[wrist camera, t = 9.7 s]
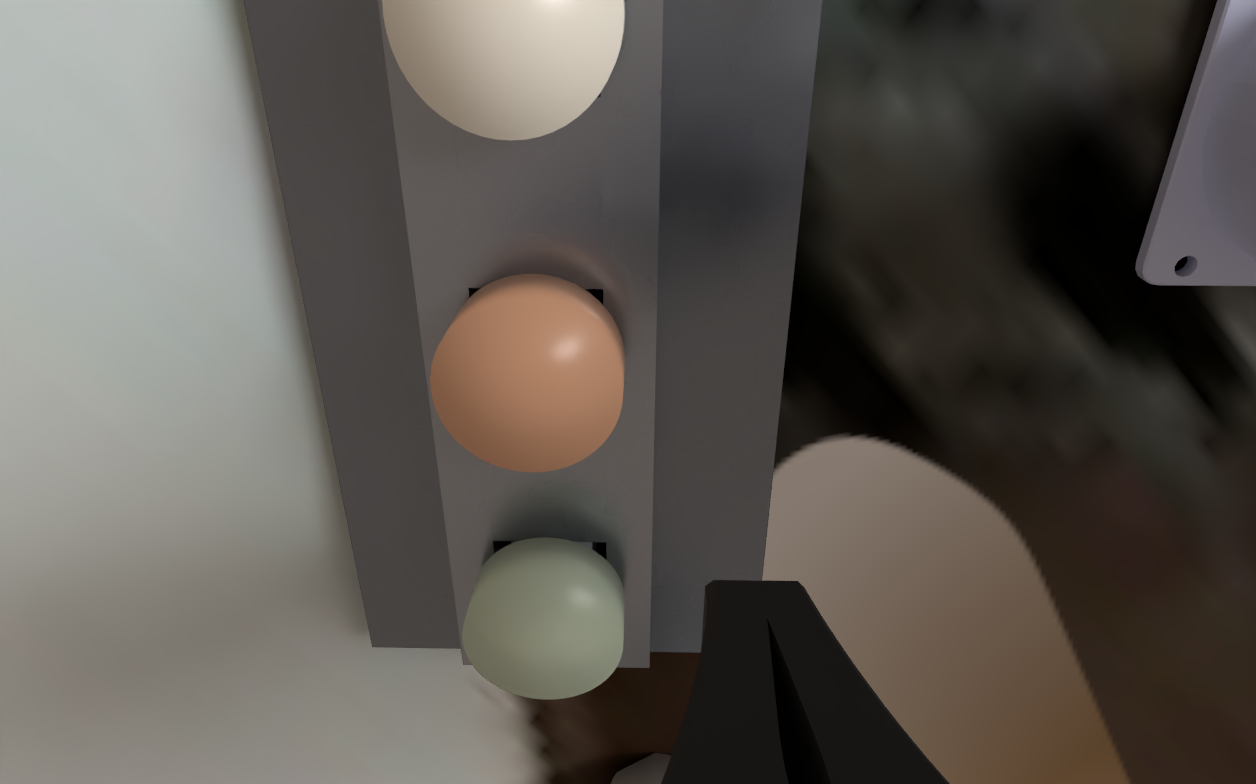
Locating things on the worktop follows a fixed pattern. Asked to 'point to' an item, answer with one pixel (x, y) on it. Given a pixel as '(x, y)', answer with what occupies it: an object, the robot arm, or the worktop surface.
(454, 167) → the switch panel
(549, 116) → the cream knob
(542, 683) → the sage knob
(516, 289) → the terracotta knob
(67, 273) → the worktop surface
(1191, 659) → the worktop surface
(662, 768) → the salt shaker
